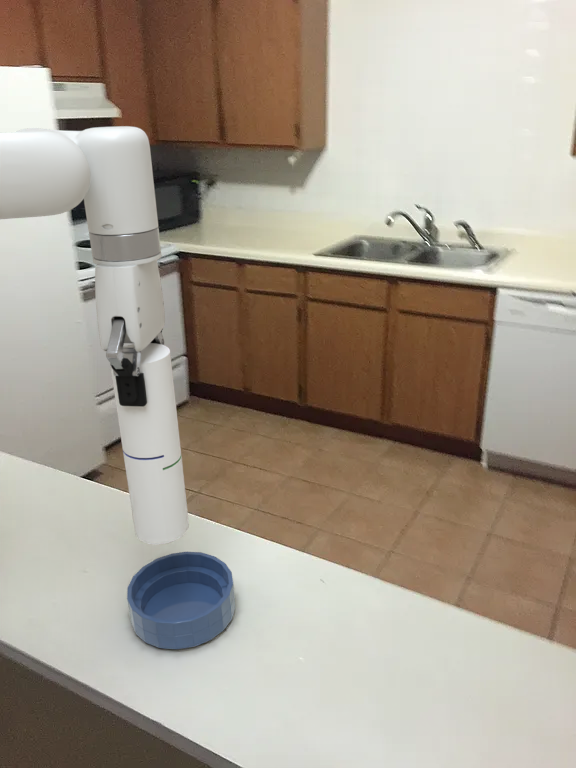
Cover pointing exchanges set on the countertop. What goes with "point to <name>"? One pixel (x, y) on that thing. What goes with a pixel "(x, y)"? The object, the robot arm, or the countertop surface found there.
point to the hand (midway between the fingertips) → (144, 390)
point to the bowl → (181, 600)
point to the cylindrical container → (154, 452)
